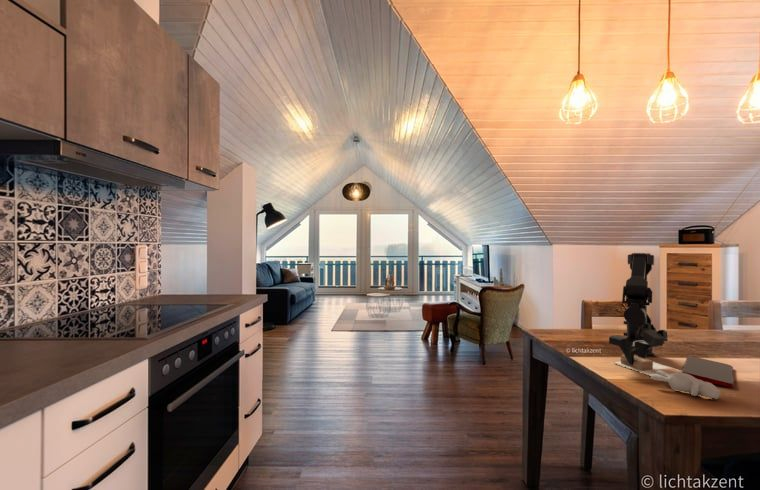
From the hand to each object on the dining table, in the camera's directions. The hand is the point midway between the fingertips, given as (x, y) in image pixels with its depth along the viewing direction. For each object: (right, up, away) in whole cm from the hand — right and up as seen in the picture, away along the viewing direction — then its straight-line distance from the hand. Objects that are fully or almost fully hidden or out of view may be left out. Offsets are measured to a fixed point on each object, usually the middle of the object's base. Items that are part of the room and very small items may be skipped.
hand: (636, 364), depth 125 cm
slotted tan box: (0, -1, 0) cm, 1 cm away
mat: (+4, -1, -2) cm, 5 cm away
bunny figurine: (0, -2, -20) cm, 20 cm away
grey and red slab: (+20, -1, -5) cm, 21 cm away
